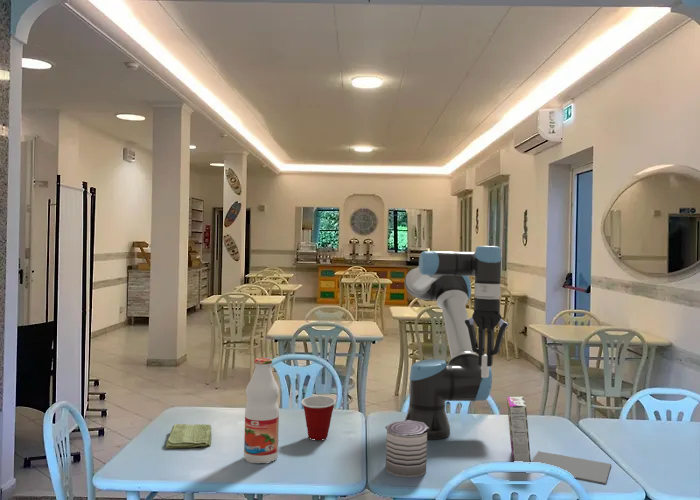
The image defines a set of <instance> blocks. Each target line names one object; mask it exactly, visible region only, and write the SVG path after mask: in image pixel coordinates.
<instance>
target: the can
mask: <svg viewBox="0 0 700 500" xmlns="http://www.w3.org/2000/svg"><path fill="white" fill-rule="evenodd" d="M384 428H385V429H386V443H385V444H386V445H385V451H386V452H385V472H386V471H387V472H386V473H388V472H389V474H390V473H391V474H390V475H392V474H393V475H392V476H394V475H395V476H396V477H400V476H401V478H407V477H408V478H416V477H418V478H419V477H422V476H423V475H424V474H427V453H428V451H427V450H428V446H427V445H428V439H427V429H428V428H429V427H428V426H427V425H426V424H425V423H424V422H418V421H412V420H405V419H404V420H399V421H397V420H396V421H392V422H390V423H389V424H388V425H385V426H384Z"/></svg>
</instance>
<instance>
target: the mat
mask: <svg viewBox="0 0 700 500" xmlns="http://www.w3.org/2000/svg"><path fill="white" fill-rule="evenodd" d="M531 462H541V463H546V464H550V465H554V466H557V467H560V468H562V469H564V470H567V471H568V472H570V473H571V474H572V475H573V476H574V477H576V478H577V479H576V480H582V481H587V482H590V483H591V482H592V483H597V484H600V485H601V484H602V485H606V484H607V480H608V477H609V473H610V471H611V467H612V463H609V462H608V463H606V462H602V461H596V460H590V459H585V458H579V457H574V456H568V455H562V454H556V453H551V452H546V451H540V450H538V451H537V452H536V454H535V455H534V457H533V459H531Z"/></svg>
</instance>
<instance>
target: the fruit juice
mask: <svg viewBox="0 0 700 500" xmlns="http://www.w3.org/2000/svg"><path fill="white" fill-rule="evenodd" d="M253 363H254V367H255V368H254V371H253V374H252V377H251V379H250V381H249V382H248V384H247V386H246V388H245V389H246V390H245V391H246V392H245V395H246V398H247V402H246V405H245V410H244V438H243V439H244V440H243V441H244V443H243V445H244V447H243V449H244V450H243V458H244V460H245V461H246V462H248V463H250V464H254V463H265V464H268V463H267V462H270V463H272V462H271V461H273V462H275V461H276V460H277V458H278V455H279V423H280V422H279V418H280V409H279V403H278V397H279V393H280V389H279V385H278V383H277V381H276V379H275V377H274V375H273V371H272V370H273V369H272V365H273V360H272V358H271V357H257V358H255V359H254V361H253ZM274 460H275V461H274Z"/></svg>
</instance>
